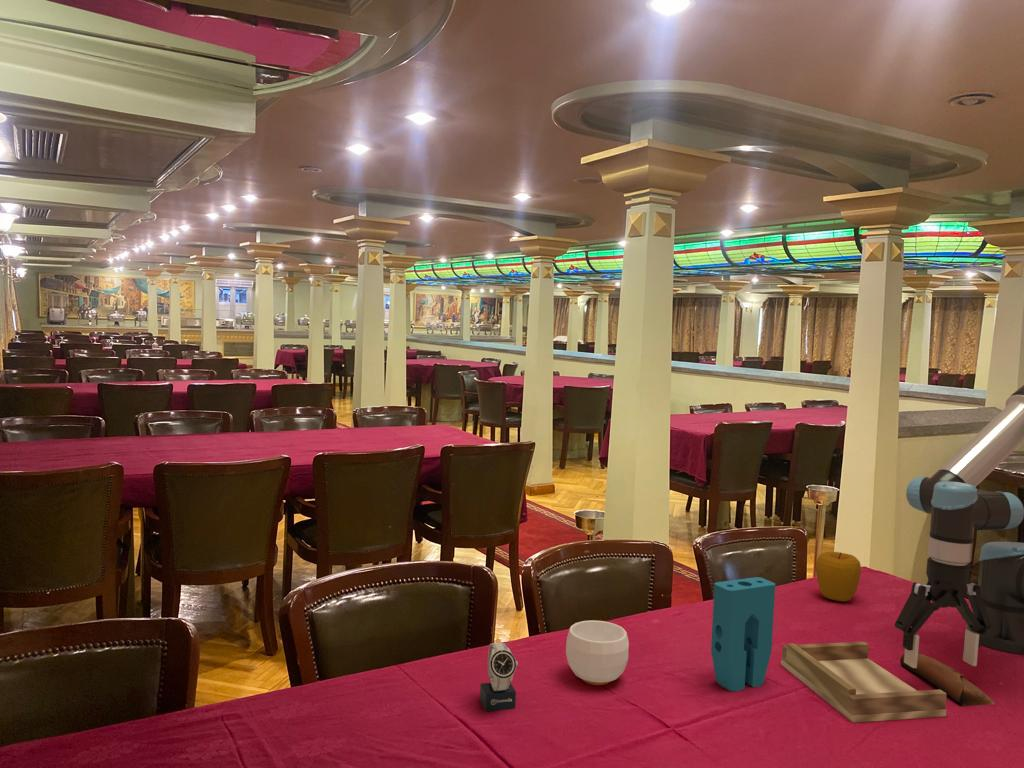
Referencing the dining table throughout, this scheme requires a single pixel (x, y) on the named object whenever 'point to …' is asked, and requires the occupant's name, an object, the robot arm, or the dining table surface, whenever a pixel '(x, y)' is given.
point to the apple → (838, 575)
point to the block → (742, 631)
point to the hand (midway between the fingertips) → (940, 664)
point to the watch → (499, 679)
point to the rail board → (859, 683)
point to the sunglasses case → (949, 681)
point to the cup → (597, 651)
